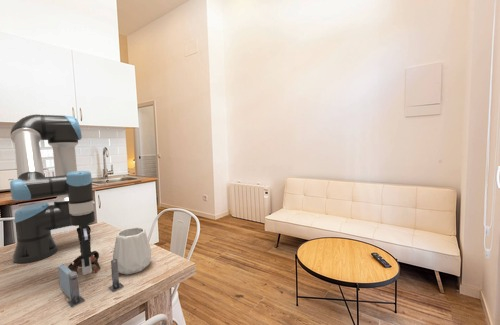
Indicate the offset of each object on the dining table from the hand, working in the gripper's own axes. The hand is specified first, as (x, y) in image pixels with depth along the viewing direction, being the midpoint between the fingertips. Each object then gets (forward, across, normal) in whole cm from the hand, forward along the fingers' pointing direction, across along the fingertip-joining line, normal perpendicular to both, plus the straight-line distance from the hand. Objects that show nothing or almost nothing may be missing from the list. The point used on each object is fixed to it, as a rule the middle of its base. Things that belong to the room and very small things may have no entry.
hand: (87, 273), depth 91 cm
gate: (+1, -8, +6) cm, 10 cm away
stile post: (+2, -14, -7) cm, 16 cm away
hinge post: (+2, -14, +5) cm, 15 cm away
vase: (+2, -4, -15) cm, 16 cm away
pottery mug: (+2, +6, -1) cm, 6 cm away
